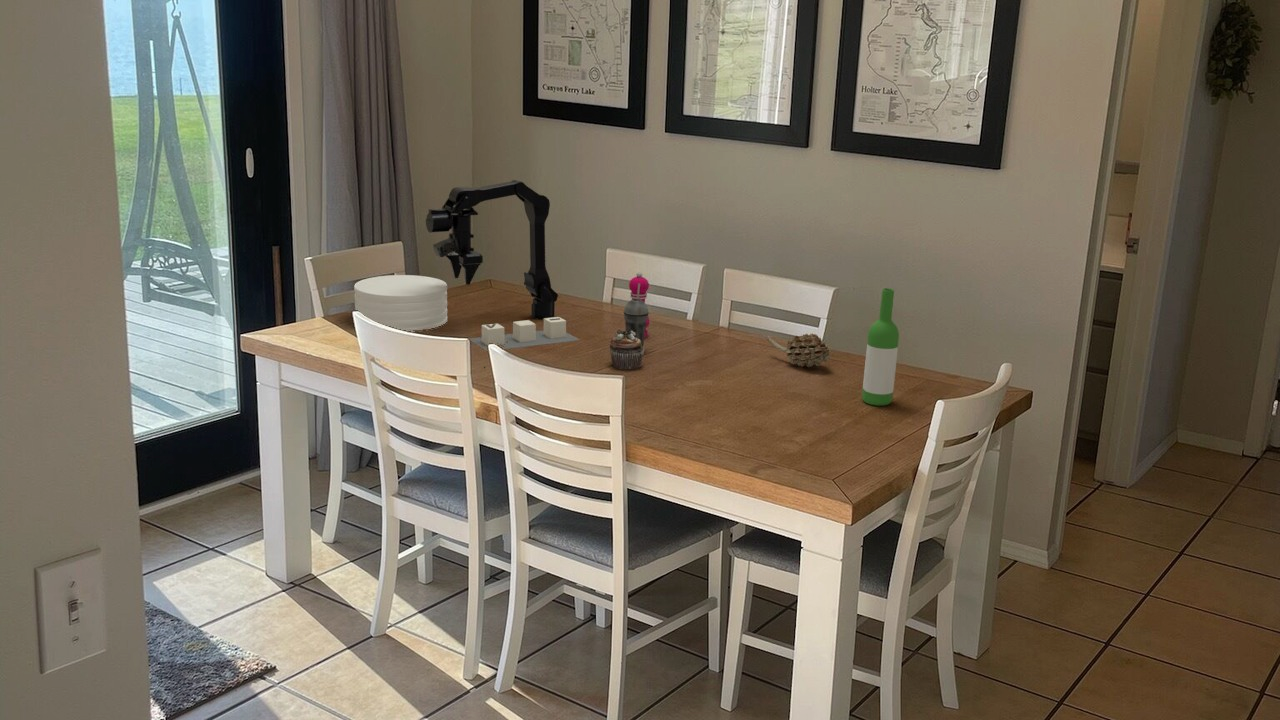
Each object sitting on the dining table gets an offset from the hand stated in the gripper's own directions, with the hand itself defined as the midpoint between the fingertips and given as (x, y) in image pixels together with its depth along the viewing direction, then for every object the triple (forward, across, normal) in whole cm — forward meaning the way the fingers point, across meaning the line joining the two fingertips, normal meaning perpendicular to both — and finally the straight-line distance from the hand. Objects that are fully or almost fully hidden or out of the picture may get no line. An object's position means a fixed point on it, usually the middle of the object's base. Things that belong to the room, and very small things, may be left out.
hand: (462, 281), depth 349 cm
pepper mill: (+15, +29, +45) cm, 56 cm away
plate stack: (+15, -15, -14) cm, 25 cm away
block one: (+14, +21, +21) cm, 33 cm away
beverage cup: (+15, +43, +36) cm, 58 cm away
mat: (+14, +21, +11) cm, 28 cm away
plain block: (+14, +21, +11) cm, 28 cm away
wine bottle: (+15, +108, +71) cm, 130 cm away
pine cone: (+15, +72, +72) cm, 103 cm away
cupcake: (+15, +54, +27) cm, 62 cm away
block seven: (+14, +21, +1) cm, 25 cm away
